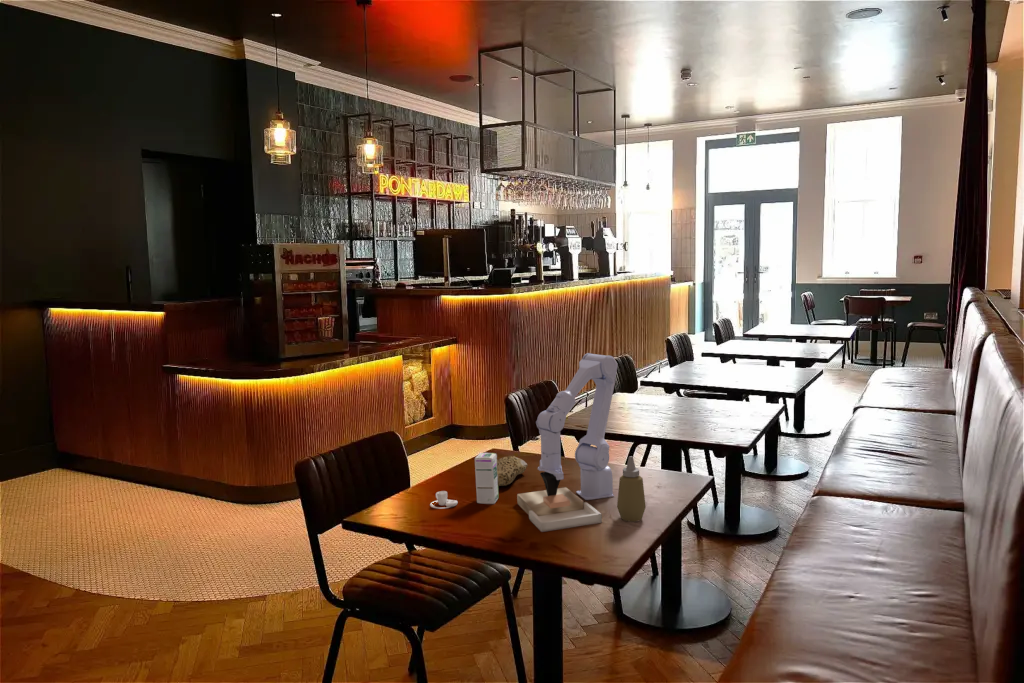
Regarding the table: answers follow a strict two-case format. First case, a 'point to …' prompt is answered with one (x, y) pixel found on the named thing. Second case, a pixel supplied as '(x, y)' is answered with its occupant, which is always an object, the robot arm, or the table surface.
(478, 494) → the syrup box
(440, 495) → the teacup and saucer
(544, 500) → the tile
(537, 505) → the platform
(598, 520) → the tray
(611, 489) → the robot arm
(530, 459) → the table surface
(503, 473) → the sponge
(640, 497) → the squeeze bottle
